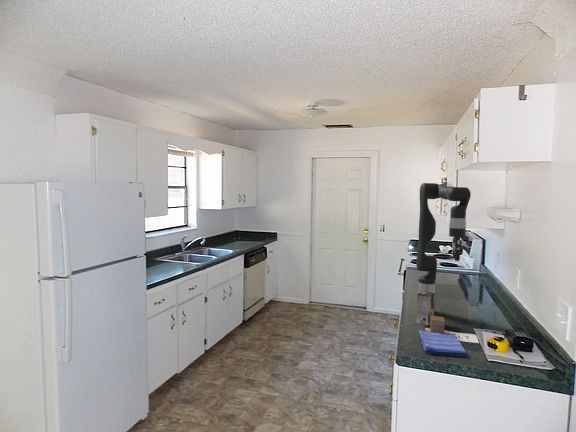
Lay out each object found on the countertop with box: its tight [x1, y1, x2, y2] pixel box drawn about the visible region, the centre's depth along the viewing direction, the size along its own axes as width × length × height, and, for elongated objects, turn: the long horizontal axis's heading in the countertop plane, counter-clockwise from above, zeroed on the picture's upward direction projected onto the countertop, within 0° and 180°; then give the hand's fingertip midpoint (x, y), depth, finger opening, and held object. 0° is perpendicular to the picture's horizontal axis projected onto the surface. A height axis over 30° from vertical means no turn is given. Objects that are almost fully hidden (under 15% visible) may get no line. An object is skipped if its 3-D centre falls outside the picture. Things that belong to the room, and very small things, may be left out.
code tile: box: [449, 331, 480, 344], centre depth 186 cm, size 12×12×1 cm
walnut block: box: [429, 315, 446, 333], centre depth 190 cm, size 6×6×7 cm
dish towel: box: [418, 329, 468, 357], centre depth 175 cm, size 17×24×3 cm
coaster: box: [424, 327, 450, 334], centre depth 191 cm, size 10×11×1 cm
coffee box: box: [416, 291, 436, 327], centre depth 207 cm, size 9×6×16 cm
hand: (456, 259), depth 194 cm, fingers open, 8 cm apart
